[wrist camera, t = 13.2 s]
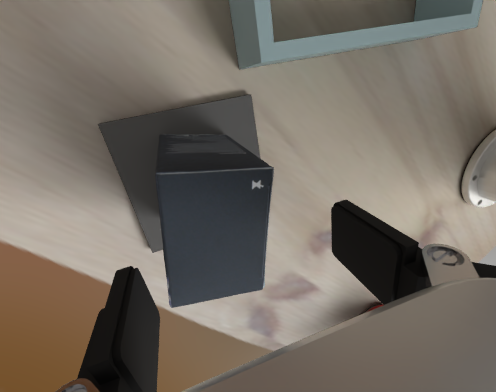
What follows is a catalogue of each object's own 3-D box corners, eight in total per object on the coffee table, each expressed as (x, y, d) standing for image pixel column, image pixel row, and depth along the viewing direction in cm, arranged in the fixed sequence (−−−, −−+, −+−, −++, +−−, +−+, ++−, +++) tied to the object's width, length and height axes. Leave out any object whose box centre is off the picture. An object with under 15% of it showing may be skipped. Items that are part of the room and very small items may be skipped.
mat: (248, 94, 21) (251, 94, 20) (266, 213, 26) (268, 215, 25) (100, 123, 18) (98, 124, 17) (152, 249, 23) (152, 252, 23)
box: (157, 133, 19) (153, 171, 10) (227, 133, 21) (279, 165, 11) (166, 221, 22) (168, 313, 13) (226, 214, 24) (267, 291, 14)
